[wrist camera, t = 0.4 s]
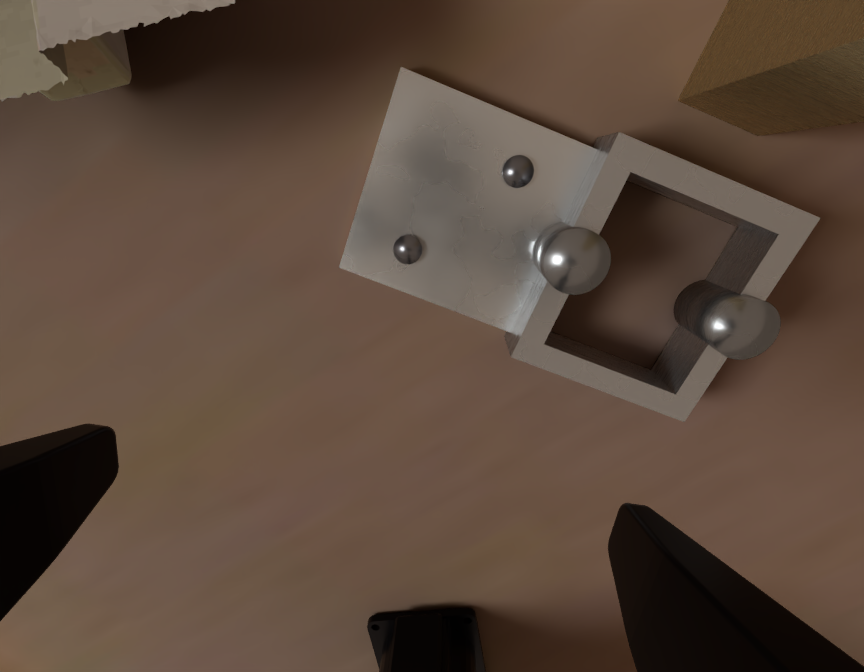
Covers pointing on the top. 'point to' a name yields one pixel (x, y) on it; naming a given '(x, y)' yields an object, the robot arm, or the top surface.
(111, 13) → the pale grey slotted block
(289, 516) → the top surface
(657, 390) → the hinge base
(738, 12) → the tan rectangular pillar
